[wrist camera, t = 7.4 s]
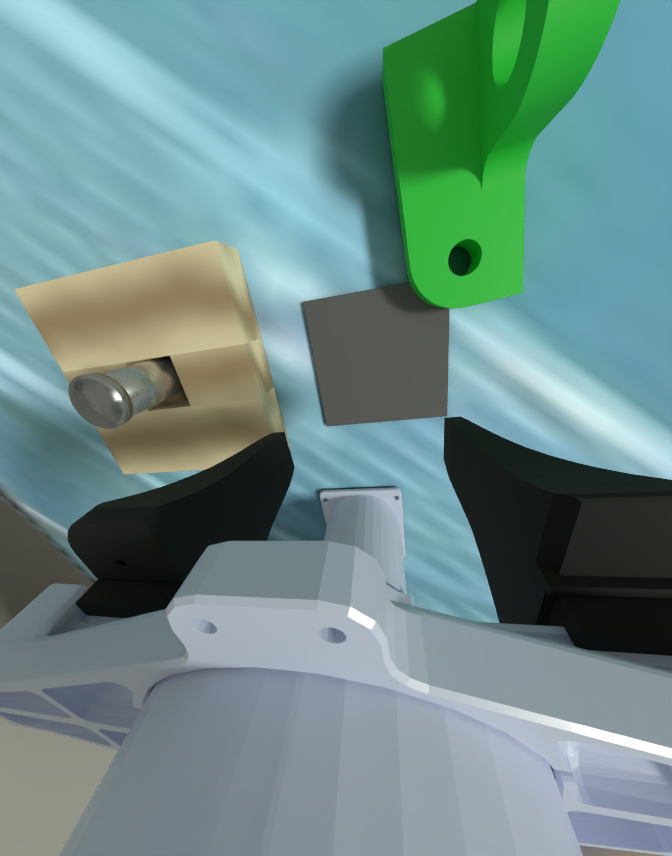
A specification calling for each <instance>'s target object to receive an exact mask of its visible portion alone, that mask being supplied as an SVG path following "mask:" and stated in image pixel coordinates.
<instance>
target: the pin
mask: <svg viewBox="0 0 672 856" xmlns="http://www.w3.org/2000/svg"><path fill="white" fill-rule="evenodd" d="M182 391H184V389H183V386H182V384H181V382H180V379H179V377H178V374H177V372H176V369H175V367H174V365H173V362H172V360H171V357H170V356H164V357H160V358H157V359H153V360H149V361H146V362H142V363H138V364H135V365H131V366H127V367H124V368H120V369H116V370H113V371H109V372H105V373H97V372H93V373H88V374H84V375H80V376H77V377H75V378H74V379H72V381H71V382H70V384H69V397H70V400H71V402H72V404H73V406H74V408H75V409H76V410H77V412H78V413H79V414H80V415H81V416H82V417H83V418H84V419H85V420H87V421H88V422H90V423H91V424H93V425H95V426H97V427H100V428H104V429H114V428H117V427H119V426H121V425H123V424H125V423H127V422H128V421H129V420H130V419H131V417H132V416H134V415H136V414H138V413H140V412H142V411H144V410H146V409H148V408H150V407H152V406H154V405H156V404H158V403H160V402H162V401H164V400H166V399H168V398H170V397H172V396H174V395H176V394H178V393H180V392H182Z"/></svg>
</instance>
